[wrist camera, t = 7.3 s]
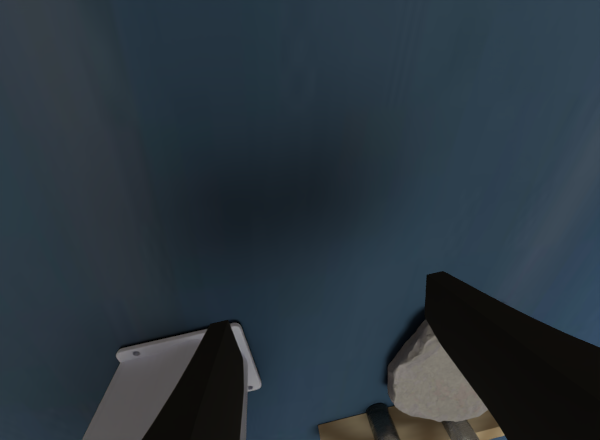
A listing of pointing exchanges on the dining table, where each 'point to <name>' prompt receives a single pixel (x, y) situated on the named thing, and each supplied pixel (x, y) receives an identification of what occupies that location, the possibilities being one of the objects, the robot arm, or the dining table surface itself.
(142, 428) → the robot arm
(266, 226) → the dining table surface
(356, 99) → the dining table surface
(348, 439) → the bench stop
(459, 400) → the stone block
